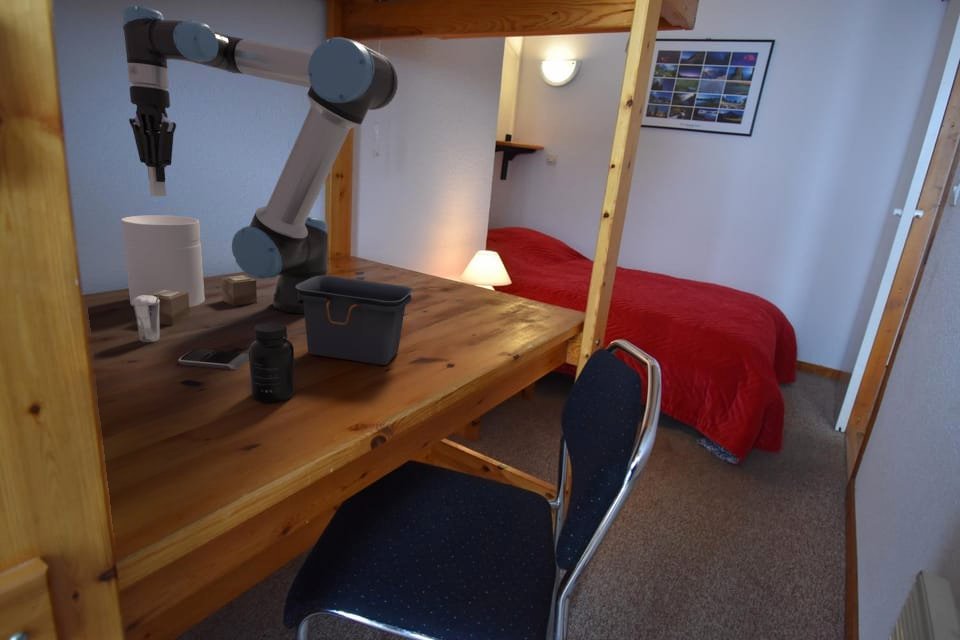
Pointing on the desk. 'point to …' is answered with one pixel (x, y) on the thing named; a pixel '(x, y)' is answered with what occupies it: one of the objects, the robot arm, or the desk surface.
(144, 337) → the milkshake
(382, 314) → the storage bin
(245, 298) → the walnut block right
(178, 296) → the walnut block left
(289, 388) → the supplement bottle
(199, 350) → the cell phone
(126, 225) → the canister
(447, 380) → the desk surface
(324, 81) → the robot arm
